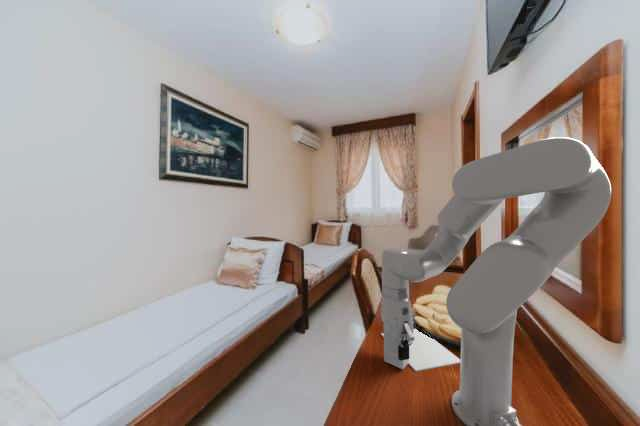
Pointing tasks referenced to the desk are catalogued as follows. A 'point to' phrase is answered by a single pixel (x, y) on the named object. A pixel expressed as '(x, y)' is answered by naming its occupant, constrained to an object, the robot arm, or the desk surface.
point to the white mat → (428, 353)
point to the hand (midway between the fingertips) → (396, 350)
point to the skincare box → (392, 347)
